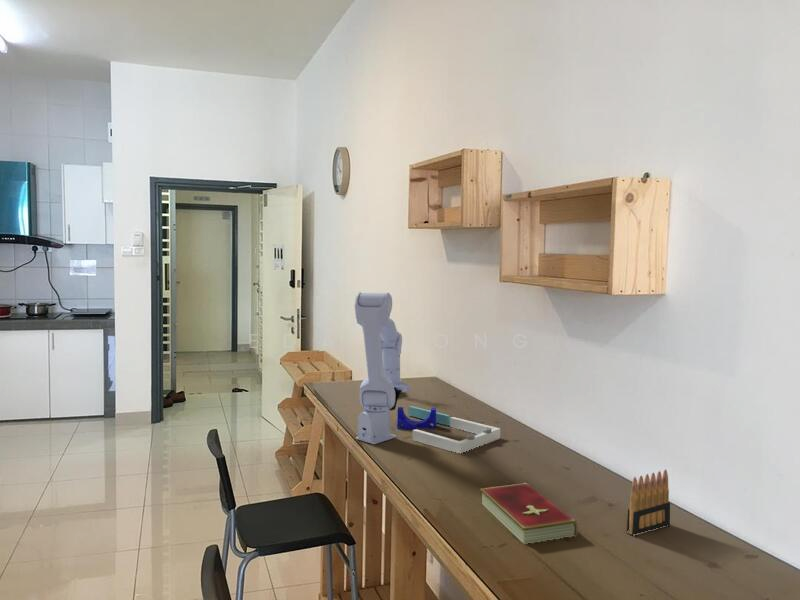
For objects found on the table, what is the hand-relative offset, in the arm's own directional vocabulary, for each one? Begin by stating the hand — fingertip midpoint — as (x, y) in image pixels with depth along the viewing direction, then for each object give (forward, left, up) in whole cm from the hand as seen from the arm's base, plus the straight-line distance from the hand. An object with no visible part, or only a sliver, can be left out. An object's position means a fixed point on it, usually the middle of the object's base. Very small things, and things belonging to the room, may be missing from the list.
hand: (391, 409), depth 212 cm
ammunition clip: (-19, -93, -4) cm, 95 cm away
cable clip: (+1, -10, -4) cm, 11 cm away
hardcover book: (-32, -72, -5) cm, 79 cm away
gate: (+9, -8, -4) cm, 13 cm away
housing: (0, -26, -4) cm, 27 cm away
